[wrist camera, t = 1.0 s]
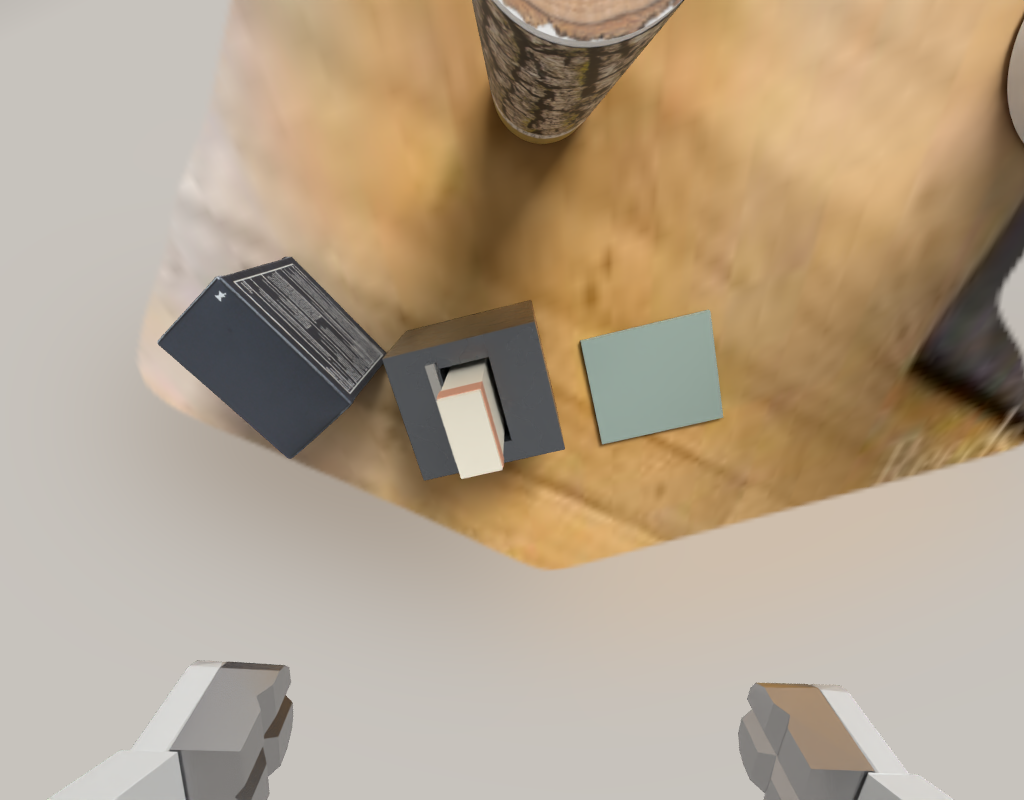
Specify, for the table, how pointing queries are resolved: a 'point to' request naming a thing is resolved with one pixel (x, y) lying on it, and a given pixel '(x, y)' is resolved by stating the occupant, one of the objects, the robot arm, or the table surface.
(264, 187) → the table surface
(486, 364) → the white block
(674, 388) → the mat
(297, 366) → the small box
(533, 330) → the dispenser
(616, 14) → the paper tube
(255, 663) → the robot arm
